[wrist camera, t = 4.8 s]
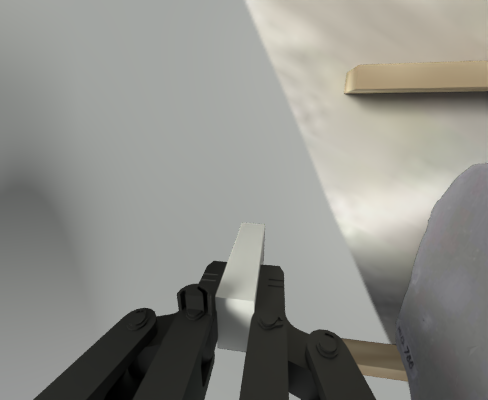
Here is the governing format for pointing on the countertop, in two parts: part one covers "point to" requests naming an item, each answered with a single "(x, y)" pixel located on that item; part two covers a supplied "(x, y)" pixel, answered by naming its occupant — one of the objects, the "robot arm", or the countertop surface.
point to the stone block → (450, 297)
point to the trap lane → (404, 81)
